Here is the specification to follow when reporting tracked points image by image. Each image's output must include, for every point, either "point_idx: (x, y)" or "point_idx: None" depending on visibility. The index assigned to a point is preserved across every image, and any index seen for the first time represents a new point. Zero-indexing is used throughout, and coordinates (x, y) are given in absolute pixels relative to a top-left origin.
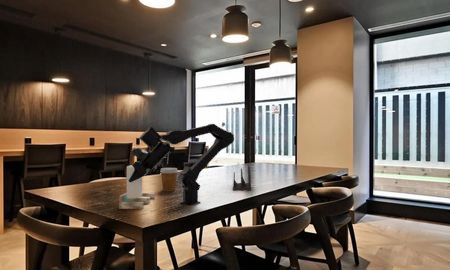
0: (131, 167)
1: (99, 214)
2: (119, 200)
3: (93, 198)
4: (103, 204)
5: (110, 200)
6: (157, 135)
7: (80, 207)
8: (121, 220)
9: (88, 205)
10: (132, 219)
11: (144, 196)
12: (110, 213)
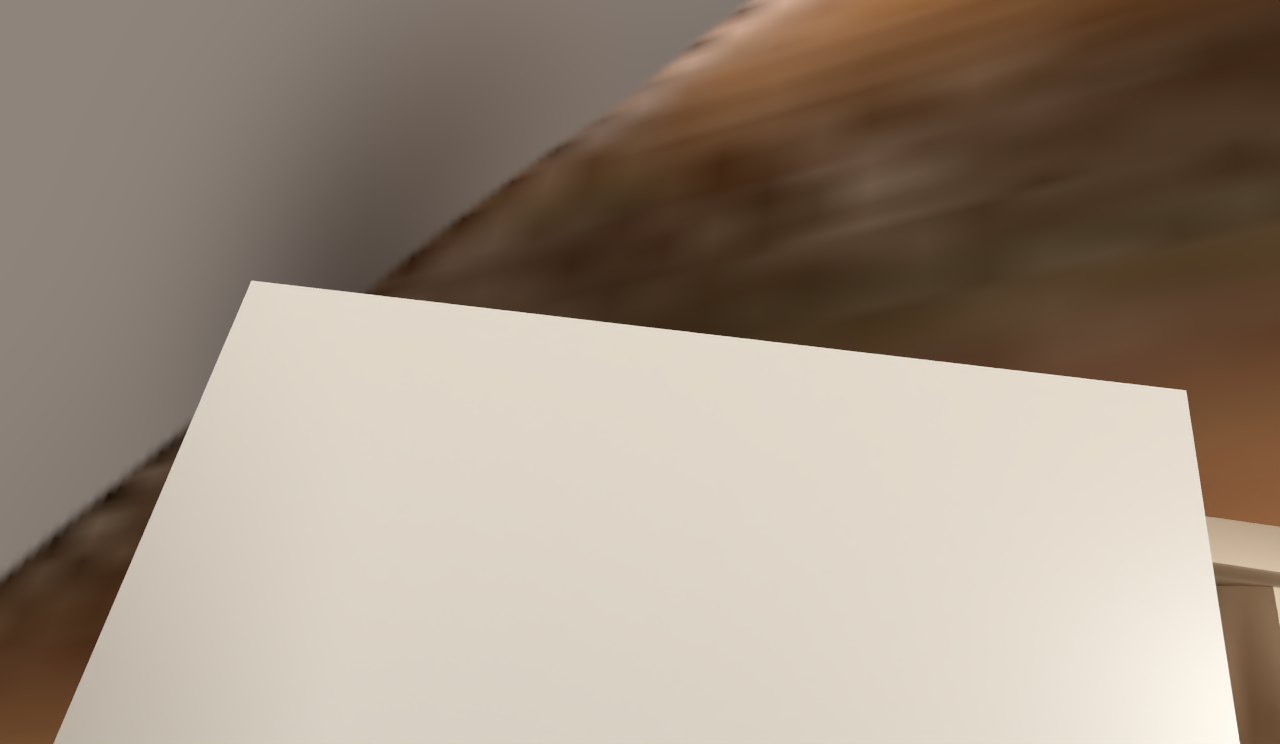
0: (169, 634)
1: None
2: None
3: (1136, 58)
4: (800, 237)
5: (1033, 255)
6: None
7: (678, 82)
8: (28, 578)
9: (761, 117)
10: (11, 695)
11: (1247, 738)
12: None
